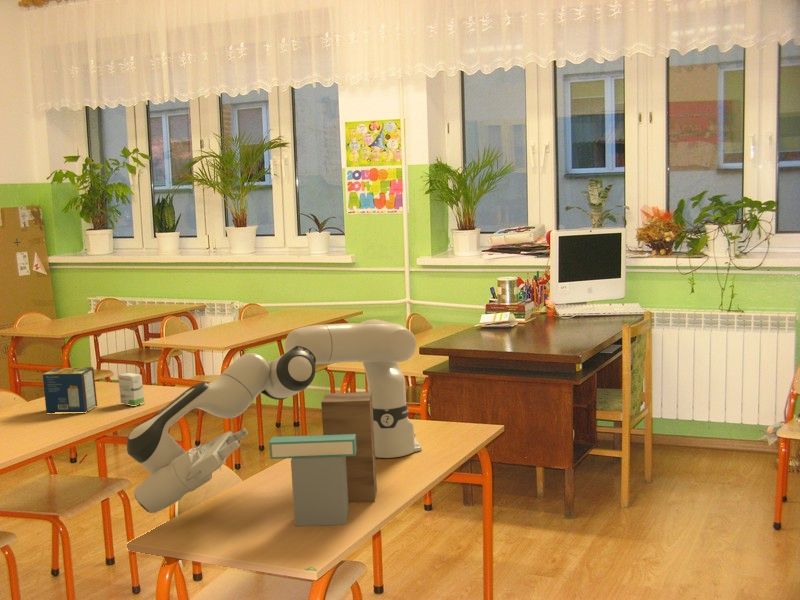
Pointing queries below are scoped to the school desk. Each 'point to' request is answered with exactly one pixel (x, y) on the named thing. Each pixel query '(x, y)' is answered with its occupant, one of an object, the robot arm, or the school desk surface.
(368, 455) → the bookcase block
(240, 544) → the school desk surface
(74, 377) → the protein box
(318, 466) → the step
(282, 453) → the book
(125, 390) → the ink box
